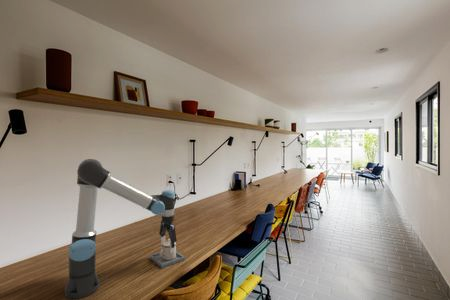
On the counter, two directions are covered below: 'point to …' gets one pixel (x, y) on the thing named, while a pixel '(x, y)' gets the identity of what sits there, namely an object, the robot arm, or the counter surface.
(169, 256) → the teacup with lid
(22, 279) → the counter surface
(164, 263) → the cup tray
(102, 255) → the counter surface
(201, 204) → the counter surface
